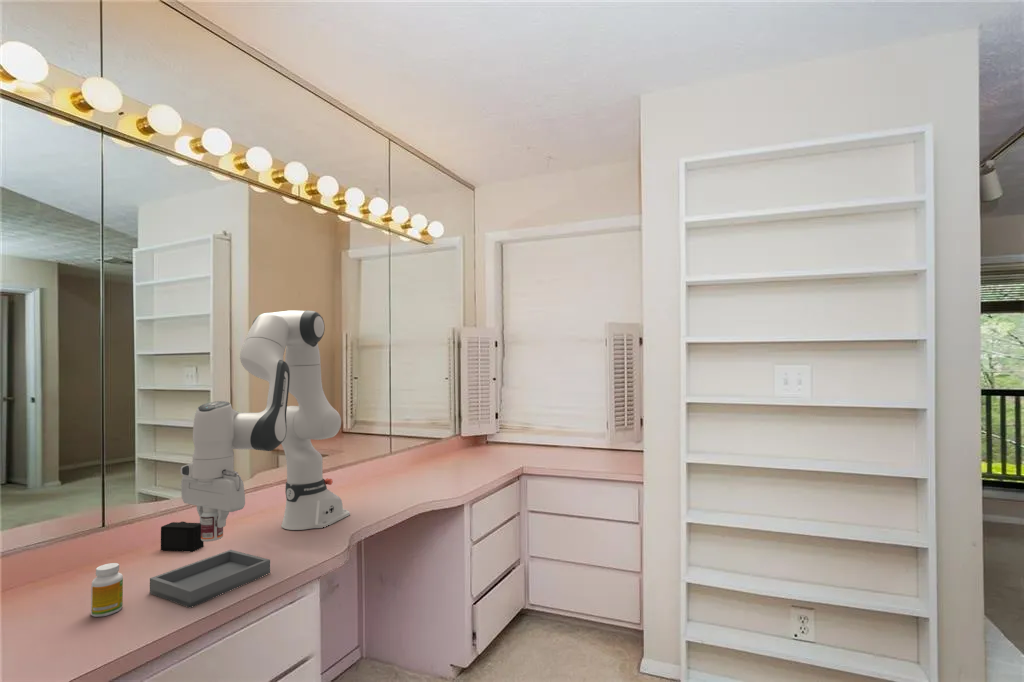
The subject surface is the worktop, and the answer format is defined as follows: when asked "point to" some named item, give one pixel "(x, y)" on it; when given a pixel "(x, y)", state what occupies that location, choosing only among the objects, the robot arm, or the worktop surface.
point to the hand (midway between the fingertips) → (212, 525)
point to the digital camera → (181, 537)
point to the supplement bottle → (107, 590)
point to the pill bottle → (210, 525)
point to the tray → (208, 577)
